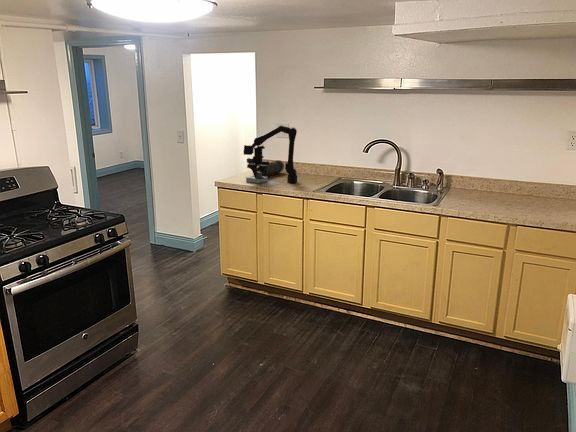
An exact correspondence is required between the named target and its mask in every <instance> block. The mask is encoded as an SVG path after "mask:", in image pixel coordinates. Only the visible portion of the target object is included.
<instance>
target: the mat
mask: <svg viewBox="0 0 576 432" xmlns="http://www.w3.org/2000/svg"><path fill="white" fill-rule="evenodd" d="M262 184H265V185H270V186H275V185H279V184H280V182H277V181H268V182H265V183H262Z"/></svg>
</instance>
